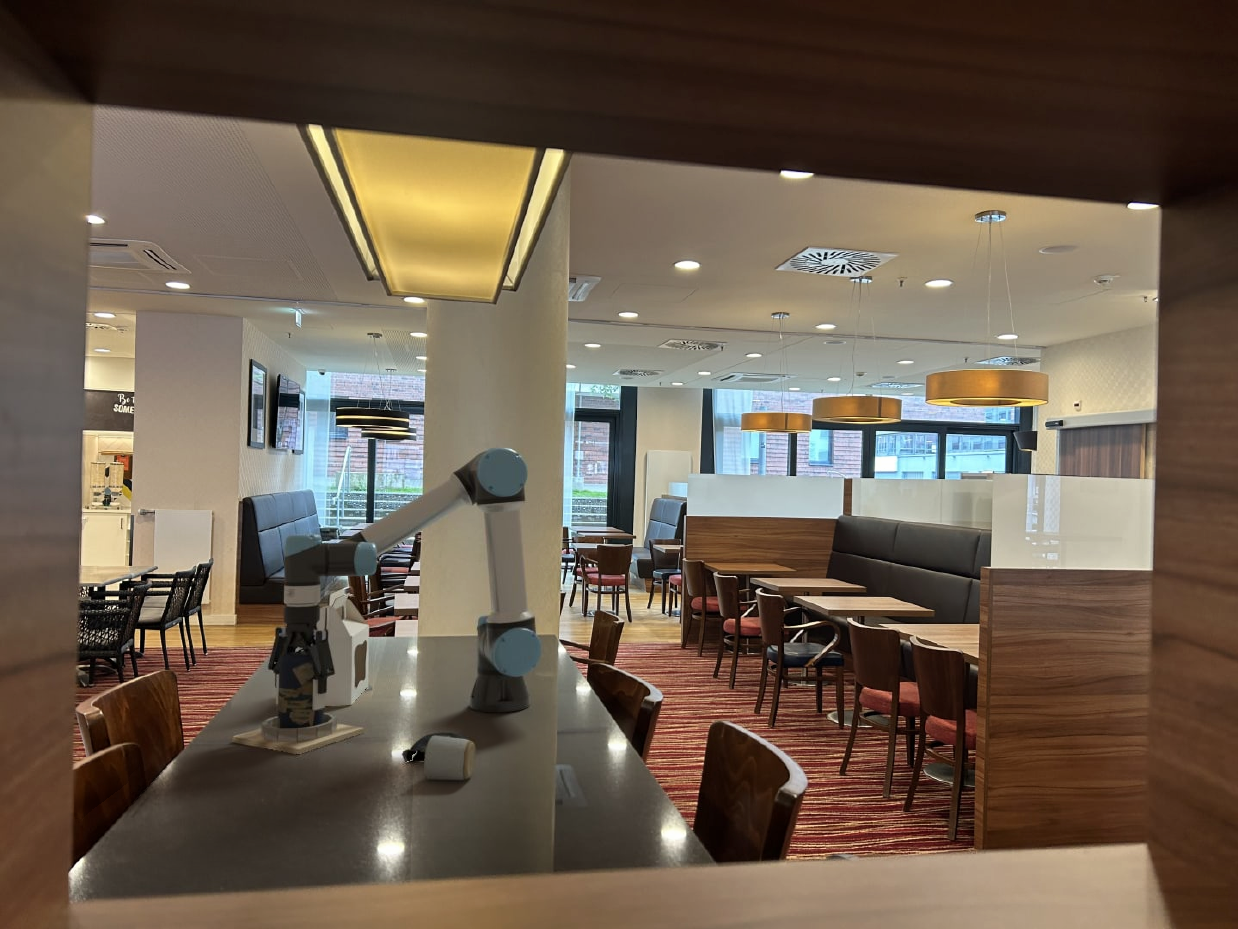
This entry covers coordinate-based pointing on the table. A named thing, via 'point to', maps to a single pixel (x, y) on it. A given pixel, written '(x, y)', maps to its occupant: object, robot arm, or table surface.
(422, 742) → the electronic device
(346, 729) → the ring holder board
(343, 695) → the gable box
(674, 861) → the table surface
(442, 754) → the ceramic mug
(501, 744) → the table surface
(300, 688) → the canister
